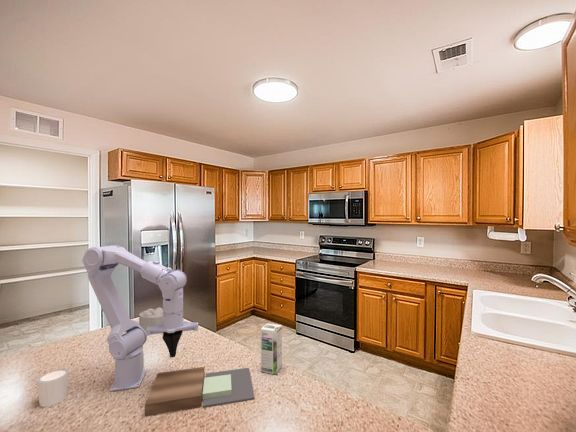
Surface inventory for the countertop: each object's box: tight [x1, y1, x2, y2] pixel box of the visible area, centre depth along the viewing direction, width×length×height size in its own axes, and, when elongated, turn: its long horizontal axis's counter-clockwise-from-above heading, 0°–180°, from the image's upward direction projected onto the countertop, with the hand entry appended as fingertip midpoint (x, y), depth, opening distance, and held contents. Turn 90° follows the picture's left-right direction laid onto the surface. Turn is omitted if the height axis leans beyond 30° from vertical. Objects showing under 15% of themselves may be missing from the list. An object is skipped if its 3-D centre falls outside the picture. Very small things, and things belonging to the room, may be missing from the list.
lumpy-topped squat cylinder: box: [138, 307, 163, 331], centre depth 127 cm, size 10×13×9 cm
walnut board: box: [144, 366, 205, 417], centre depth 79 cm, size 15×14×3 cm
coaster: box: [202, 374, 232, 400], centre depth 80 cm, size 8×8×2 cm
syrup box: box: [260, 323, 283, 376], centre depth 92 cm, size 6×6×14 cm
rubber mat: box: [202, 367, 256, 409], centre depth 82 cm, size 16×14×1 cm
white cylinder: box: [36, 368, 70, 408], centre depth 76 cm, size 7×7×7 cm
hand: (173, 355), depth 82 cm, fingers closed
